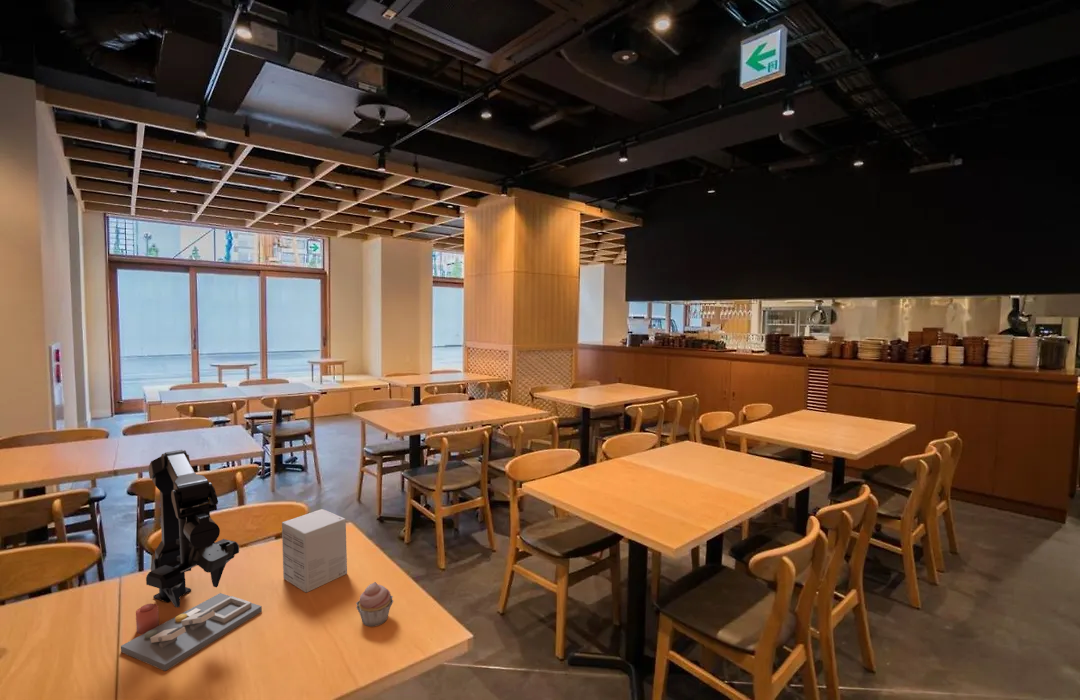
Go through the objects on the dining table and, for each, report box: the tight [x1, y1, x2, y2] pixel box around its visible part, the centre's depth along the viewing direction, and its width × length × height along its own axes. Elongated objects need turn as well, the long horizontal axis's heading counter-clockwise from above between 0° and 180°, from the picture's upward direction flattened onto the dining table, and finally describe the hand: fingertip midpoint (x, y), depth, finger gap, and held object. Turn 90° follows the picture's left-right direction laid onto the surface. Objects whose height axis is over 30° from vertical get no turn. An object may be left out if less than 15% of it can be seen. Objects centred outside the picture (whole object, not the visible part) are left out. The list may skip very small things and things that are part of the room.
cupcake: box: [355, 581, 394, 628], centre depth 130 cm, size 9×9×10 cm
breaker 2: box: [181, 610, 215, 626], centre depth 124 cm, size 8×4×1 cm, turn 67°
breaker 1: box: [150, 627, 186, 643], centre depth 118 cm, size 8×4×1 cm, turn 67°
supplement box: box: [281, 508, 348, 593], centre depth 150 cm, size 13×13×18 cm
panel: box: [120, 592, 263, 672], centre depth 125 cm, size 16×24×3 cm, turn 158°
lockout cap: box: [135, 603, 160, 635], centre depth 125 cm, size 4×4×6 cm
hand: (197, 596), depth 120 cm, fingers open, 9 cm apart
